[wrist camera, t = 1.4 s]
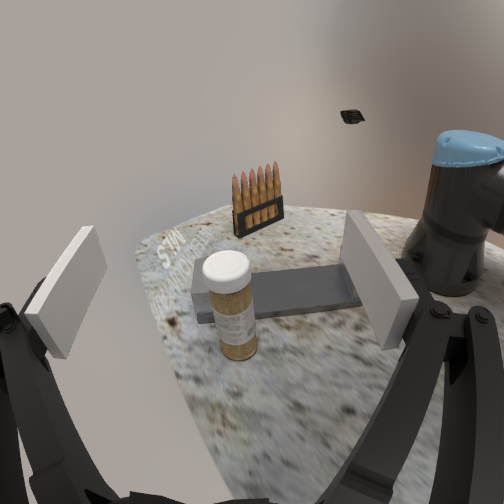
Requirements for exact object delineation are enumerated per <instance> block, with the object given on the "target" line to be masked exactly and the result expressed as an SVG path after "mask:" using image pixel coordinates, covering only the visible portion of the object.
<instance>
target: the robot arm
mask: <svg viewBox="0 0 504 504" xmlns="http://www.w3.org/2000/svg"><path fill="white" fill-rule="evenodd" d="M431 162H432V168H431V174H430V180H429V185H428V191H427V196H426V201H425V205H424V210H423V215H422V217H421V219H420V221H419V222H418V224H417V225H416V227H415V228H414V230H413V231H412V233H411V234H410V236H409V238H408V239H407V241H406V243H405V246H404V250H403V254H402V259H394V257H393V256H392V254H391V253H390V251H389V250H388V248H387V247H386V245H385V244H384V242H383V241H382V240H381V238H380V237H379V235H378V234H377V232H376V231H375V230H374V228H373V227H372V225H371V224H370V223H369V221H368V220H367V219H366V217H365V216H364V214H363V213H362V212H361V210H356V211H355V210H354V211H353V210H352V211H347V212H346V220H345V228H344V235H343V242H342V249H341V255H340V256H341V258H342V260H343V262H344V264H345V266H346V268H347V271H348V273H349V275H350V277H351V279H352V282H353V284H354V286H355V288H356V290H357V293H358V295H359V297H360V300H361V302H362V304H363V306H364V309H365V311H366V313H367V316H368V318H369V321H370V323H371V325H372V328H373V330H374V333H375V335H376V337H377V340H378V342H379V345H380V347H381V350H387V349H393V348H398V346H399V344H400V342H401V340H402V338H403V340H404V342H405V344H406V346H405V348H404V350H403V352H402V354H401V356H400V358H399V360H398V364H397V367H396V369H395V371H394V373H393V375H392V377H391V380H390V382H389V384H388V386H387V388H386V390H385V392H384V394H383V396H382V398H381V400H380V402H379V404H378V406H377V408H376V410H375V412H374V413H373V415H372V417H371V419H370V421H369V423H368V424H367V426H366V428H365V430H364V432H363V433H362V435H361V437H360V438H359V440H358V442H357V443H356V445H355V447H354V448H353V450H352V452H351V453H350V455H349V457H348V458H347V460H346V461H345V463H344V464H343V466H342V467H341V469H340V470H339V472H338V473H337V475H336V476H335V478H334V479H333V481H332V482H331V484H330V485H329V486H328V488H327V489H326V490H325V492H324V493H323V494H322V495H321V497H320V498H319V499H318V500H317V502H316V503H315V504H388V503H389V501H390V499H391V497H392V494H393V484H394V482H395V480H396V478H397V476H398V474H399V472H400V471H401V469H402V466H403V464H404V462H405V460H406V458H407V456H408V454H409V452H410V450H411V447H412V445H413V443H414V441H415V438H416V436H417V434H418V431H419V429H420V426H421V424H422V421H423V419H424V416H425V413H426V411H427V408H428V405H429V403H430V400H431V397H432V394H433V391H434V388H435V385H436V382H437V379H438V376H439V372H440V369H441V365H442V362H445V379H444V403H443V417H442V428H441V438H440V446H439V453H438V460H437V466H436V472H435V478H434V483H433V488H432V493H431V497H430V501H429V504H503V502H504V369H503V361H502V355H501V348H500V342H499V337H498V332H497V327H496V322H495V318H494V316H493V314H492V313H491V312H490V311H489V310H488V309H486V308H484V307H482V306H474V307H472V308H471V309H470V310H469V312H468V314H467V315H466V314H457V313H453V312H452V310H451V309H450V308H449V307H448V306H447V305H446V304H444V303H443V302H440V301H436V300H434V298H433V297H432V295H431V294H430V292H429V291H428V290H430V291H433V292H435V293H438V294H441V295H446V296H463V295H466V294H468V293H470V292H472V291H473V290H474V289H475V288H476V286H477V284H478V282H479V280H480V278H481V275H482V271H483V260H484V244H485V239H486V236H487V233H488V231H489V229H490V230H492V231H495V232H497V233H499V234H501V235H503V236H504V141H503V140H501V139H498V138H495V137H494V136H490V135H487V134H483V133H478V132H472V131H464V130H452V131H446V132H444V133H442V134H440V136H439V137H438V138H437V141H436V146H435V151H434V155H433V158H432V161H431ZM107 268H108V266H107V264H106V261H105V258H104V255H103V252H102V249H101V246H100V243H99V239H98V236H97V233H96V230H95V227H94V226H84V227H82V228H81V229H80V231H79V232H78V234H77V235H76V236H75V237H74V239H73V240H72V241H71V243H70V244H69V246H68V247H67V248H66V250H65V251H64V252H63V254H62V255H61V257H60V258H59V260H58V261H57V262H56V264H55V265H54V267H53V268H52V270H51V271H50V273H49V274H48V276H47V277H45V278H43V279H42V280H41V281H40V282H39V283H38V284H37V286H36V287H35V289H34V290H33V292H32V293H31V295H30V297H29V298H28V300H27V302H26V303H25V305H24V306H23V308H22V310H21V312H20V313H19V315H17V313H16V311H15V310H14V308H13V307H12V304H11V303H2V304H0V504H29V502H28V497H27V492H26V487H25V482H24V477H23V470H22V464H21V457H20V449H19V440H18V430H19V434H20V437H21V440H22V443H23V446H24V449H25V452H26V454H27V457H28V460H29V462H30V465H31V468H32V471H33V475H32V476H31V477H29V483H30V486H31V489H32V492H33V494H34V496H35V499H36V501H37V503H38V504H184V503H181V502H178V501H175V500H172V499H169V498H166V497H163V496H159V495H151V494H144V493H137V492H132V491H130V497H124V498H119V497H118V495H117V494H116V493H115V492H114V491H113V490H112V489H111V488H110V487H109V486H108V485H107V484H106V482H105V481H104V479H103V478H102V476H101V475H100V473H99V471H98V469H97V468H96V466H95V464H94V462H93V461H92V459H91V457H90V455H89V453H88V451H87V450H86V448H85V446H84V444H83V442H82V440H81V438H80V436H79V434H78V432H77V430H76V428H75V426H74V424H73V421H72V419H71V417H70V415H69V413H68V410H67V408H66V406H65V404H64V401H63V399H62V396H61V394H60V391H59V389H58V386H57V384H56V381H55V378H54V376H53V373H52V370H51V367H50V365H49V362H48V360H47V358H46V357H45V353H46V351H47V349H48V351H49V352H50V354H51V355H52V356H53V358H59V359H67V357H68V354H69V352H70V349H71V347H72V344H73V342H74V339H75V337H76V335H77V332H78V330H79V328H80V325H81V323H82V321H83V318H84V316H85V314H86V312H87V310H88V307H89V305H90V303H91V301H92V299H93V297H94V294H95V292H96V290H97V288H98V286H99V284H100V282H101V280H102V278H103V276H104V274H105V272H106V270H107ZM17 427H18V429H17ZM215 504H277V503H270V502H269V498H263V499H238V500H229V501H225V502H220V503H215Z"/></svg>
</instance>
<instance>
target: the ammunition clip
mask: <svg viewBox="0 0 504 504" xmlns="http://www.w3.org/2000/svg"><path fill="white" fill-rule="evenodd" d="M257 180H258V181H257V184H256V178H255V173H254V171H253V169H251V171H250V176H249V182H250V185H249V186H250V188H248V182H247V177H246V175H245V173H244V172H242V175H241V194H240V189H239V184H238V180H237V177H236V175H235V174H234V175H233V180H232V193H233V195H232V201H233V210H232V214H233V227H234V235H236V236H237V237H238V238H242V237H244V236H247V235H249V234H251V233H253V232H255V231H257V230H260V229H262V228H264V227H266V226H268V225H270V224H273V223H275V222H277V221H279V220H281V219H283V218H284V210H283V196H282V195H281V183H280V177H279V169H278V165H277V162H276V161H275V162H274V165H273V180H272V173H271V169H270V166H269V164H267V165H266V169H265V181H264V174H263V171H262V168H261V166H259V168H258V174H257Z"/></svg>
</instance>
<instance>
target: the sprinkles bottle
mask: <svg viewBox="0 0 504 504" xmlns="http://www.w3.org/2000/svg"><path fill="white" fill-rule="evenodd" d="M202 272H203V277H204V281H205V284H206V286H207V287H208V290H209V295H210V299H211V304H212V310H213V314H214V319H215V323H216V327H217V331H218V334H219V337H220V340H221V346H222V351H223V353H224V354H225V355H226V356H227V357H228V358H230V359H233V360H239V361H240V360H244V359H248V358H249V357H251V356H252V355H253V354H254V353H255V352H256V350H257V346H258V342H257V339H256V333H255V332H256V325H255V316H254V306H253V298H252V294H251V286H250V282H251V269H250V263H249V260H248V258H247V257H246V256H245V255H244V254H242V253H240V252H237V251H231V250H227V251H220V252H217V253H215V254H213V255H211V256H210V257H208V258H207V259H206V260H205V262H204V264H203V267H202Z"/></svg>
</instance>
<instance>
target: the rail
mask: <svg viewBox="0 0 504 504" xmlns="http://www.w3.org/2000/svg"><path fill="white" fill-rule="evenodd" d="M341 249H342V245H341ZM340 255H341V251H340ZM206 259H207V258H202V259H195V265H194V273H193V280H192V288H191V296H192V299H193V303H194V306H195V310H196V313H197V320H198V323H199V324H200V323H214V322H215V319H214V314H213V310H212V304H211V299H210V295H209V290H208V287H207V286H206V284H205V281H204V277H203V272H202V267H203V264H204V262H205V260H206ZM250 286H251V294H252V298H253V306H254V316H255V319H261V318H271V317H280V316H289V315H298V314H306V313H314V312H322V311H330V310H337V309H344V308H351V307H358V306H363V304H362V302H361V300H360V297H359V295H358V293H357V290H356V288H355V286H354V284H353V282H352V279H351V277H350V275H349V273H348V271H347V268H346V266H345V264H344V262H343V260H342V258H341V256H340V259H339V264H337V265H328V266H319V267H309V268H300V269H290V270H280V271H270V272H260V273H251V282H250Z"/></svg>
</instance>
